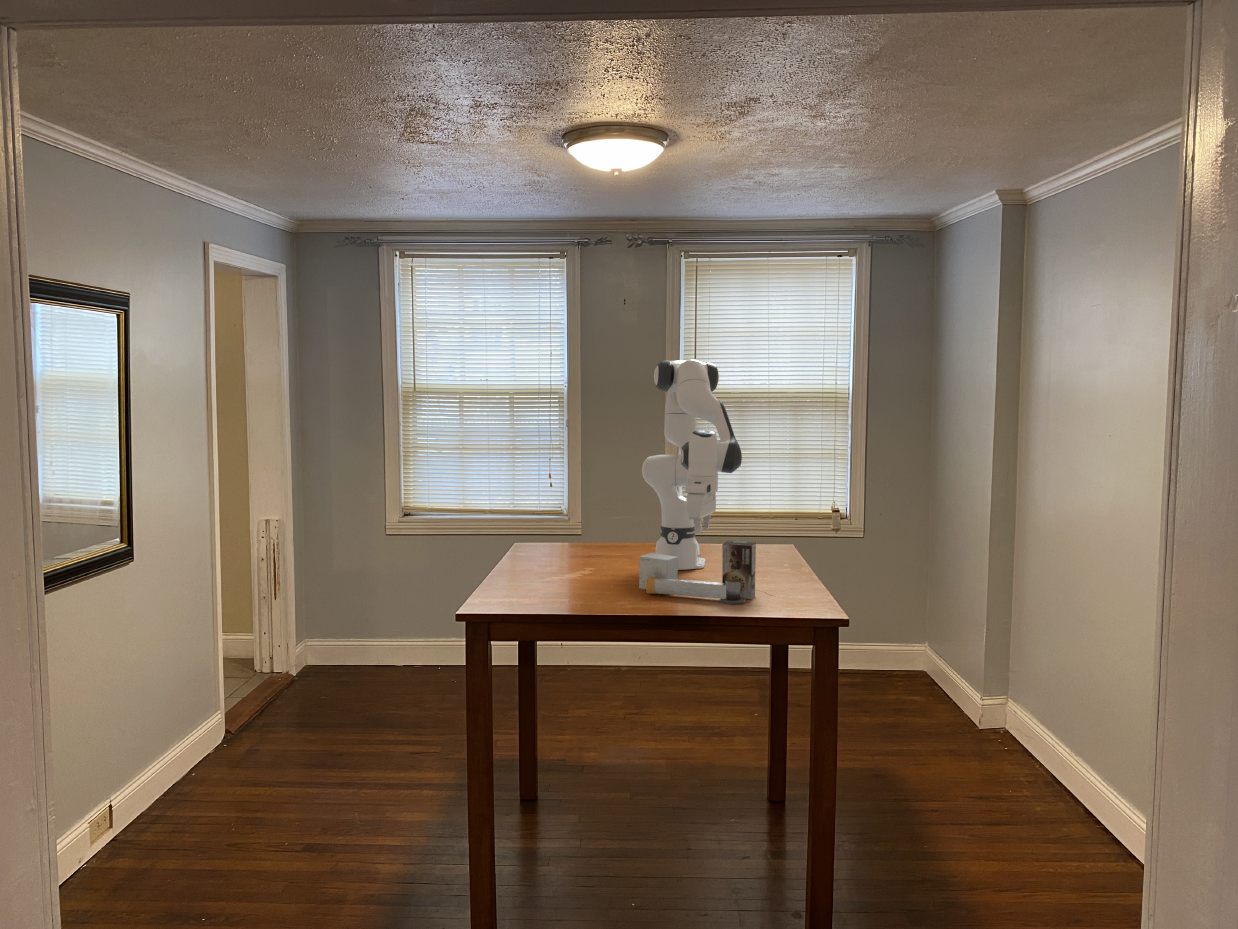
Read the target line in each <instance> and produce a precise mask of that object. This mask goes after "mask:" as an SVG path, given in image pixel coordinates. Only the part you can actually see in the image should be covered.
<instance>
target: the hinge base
mask: <svg viewBox="0 0 1238 929" xmlns="http://www.w3.org/2000/svg"><path fill="white" fill-rule="evenodd" d="M720 603H721V604H724V605H732V606H733V605H734V606H735V605H744V604H745V603H746V599H744V598H741V597H740V600H727V599H720Z"/></svg>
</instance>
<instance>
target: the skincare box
mask: <svg viewBox="0 0 1238 929" xmlns="http://www.w3.org/2000/svg"><path fill="white" fill-rule="evenodd" d="M638 574H639V578H638V579H639V582H638V583H639V585H638V589H640V588H641V589H640V590H645V589H646V578H648V577H650V576H654V577H658V578H668V579H679V578H678V574H679V570H678V557H676V556H669V555H662V554H656V552H655V553H654V552H649V553H646V554H645V553H644V554H642V555H640V556H639V573H638Z"/></svg>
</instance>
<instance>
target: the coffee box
mask: <svg viewBox="0 0 1238 929" xmlns="http://www.w3.org/2000/svg"><path fill="white" fill-rule="evenodd" d="M721 546H722V554H721V555H722V556H721V557H722V560H721V562H722V568H721V569H722V570H721V571H722V572H721V573H722V575H721V576H722V577H721V578H722V579H721V580H722V582H721V583H725V581H726V580H738V581H741V592H740V597H741V598H744V599H745V600H753V598H754V597H755V596H756V561H757V560H756V557H757V556H756V551H757V550H756V549H757V547H756V546H757V545H756V542H755V541H736V540H726V541H724V543H722V545H721Z"/></svg>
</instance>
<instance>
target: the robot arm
mask: <svg viewBox="0 0 1238 929" xmlns="http://www.w3.org/2000/svg"><path fill="white" fill-rule="evenodd" d="M653 372H654V373H653V380H654V384H655V387H656V388H657V390H659V391H662V392H667V394H666V395H667V396H666V399H665V400H666V401H665V408H664V424H663V425H664V427H663V429H664V430H663V434H664V438H665V440H666V441H667V442H669V443H670V444H672V445H674V446H675V447H677V448H679V451H680V454H656V455H651V456H647V458H646V459H644V461H643V463H642V466H641V475H642V478H643V480H644V481H645V483H646V484H648V485H649V486H650V487H651V488H652V489H653V490H654V492H655V493H656V494H657V497H658V499H659V502H660V507H661V525H660V529H659V532H660V533H659V534H660V535H659V536H660V538H659V539H658V540H657V541H656V544H655V554H662V555H669V556H676V557H678V571H680V570H681V571H682V570H685V571H687V570H694V569H704V568H705V564H706V558H704V557H701V554H700V544H699V543H698V541H697V539H696V534H701V533H702V532H703V530H709V528H710V522H711V519H712V518H711V516H712V514H714V513H715V512H716V510H717V495H716V492H718V490H719V489H718V488H719V486H718V485H719V484H718V483H719V473H725V474H732V473H734V472H735V471H737V470H738V469H739V468H740V467H741V465H742V461H743V455H742V454H743V453H742V450H741V446H740V444H739V442H738V440H737V438H736V436H735V432H734V430H733V427H732V423H731V420H730V417H729V415H728V412H727V410H726V407H725V405H724V403H723V402H722V401H721V400H720V399H718V398H717V397H716V396H715V395H714V394H713V391H715V390H716V389H717V386H718V384H719V380H720V374H719V370H718V366H716V364H715V363H713V362H708V361H706V362H703V361H700V360H697V359H687V360H662V361H659V362H658V363H657V364H656V367H655V368H654V371H653ZM697 418H698V419H701V420H703V421H707V422H708V423H711V424H713V425H714V426H715V429H716V431H717V433H716V432H714V431H713V430H708V429H697ZM717 434H718V437H717ZM718 438H719V439H720V440H718ZM679 487H681V488H685V489H684V491H685V494H686V497H685V496H683V495H681V494H680V492H679V490H678V488H679ZM702 519H703V520H702Z"/></svg>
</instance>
